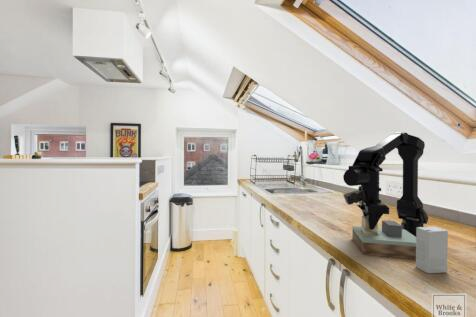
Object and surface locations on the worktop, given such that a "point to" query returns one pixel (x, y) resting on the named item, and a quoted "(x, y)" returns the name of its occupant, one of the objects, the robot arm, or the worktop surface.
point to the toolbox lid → (388, 235)
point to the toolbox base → (384, 249)
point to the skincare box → (431, 249)
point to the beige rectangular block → (366, 229)
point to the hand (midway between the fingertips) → (369, 227)
